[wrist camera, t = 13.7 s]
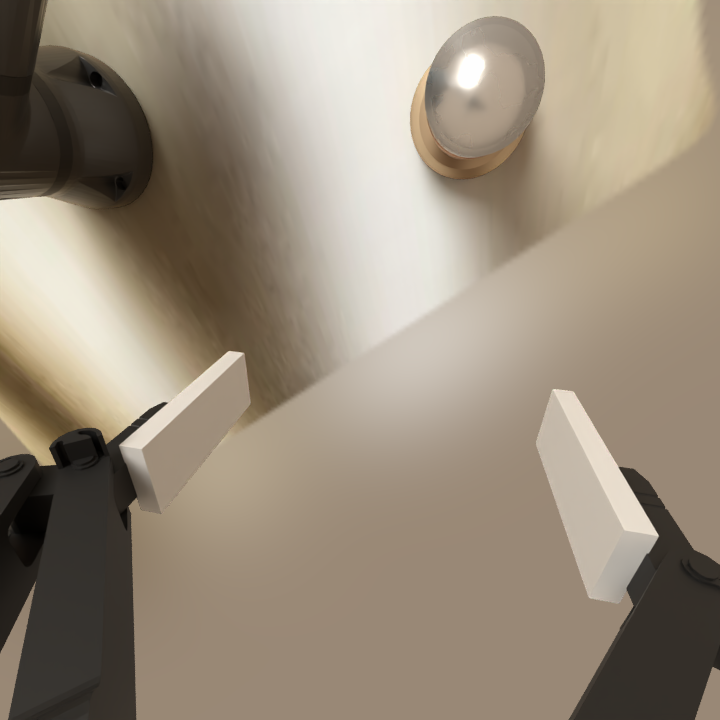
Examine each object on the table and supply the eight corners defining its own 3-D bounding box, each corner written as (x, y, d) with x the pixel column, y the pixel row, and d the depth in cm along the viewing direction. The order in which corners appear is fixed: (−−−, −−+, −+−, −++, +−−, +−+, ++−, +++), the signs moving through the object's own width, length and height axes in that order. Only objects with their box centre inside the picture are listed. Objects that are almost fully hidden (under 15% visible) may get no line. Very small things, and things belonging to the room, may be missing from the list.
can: (425, 159, 34) (417, 155, 23) (434, 67, 31) (430, 14, 20) (501, 161, 33) (530, 159, 22) (518, 66, 30) (562, 11, 19)
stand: (408, 176, 38) (405, 177, 35) (417, 51, 33) (415, 40, 30) (510, 180, 36) (516, 181, 34) (536, 49, 32) (545, 38, 29)
